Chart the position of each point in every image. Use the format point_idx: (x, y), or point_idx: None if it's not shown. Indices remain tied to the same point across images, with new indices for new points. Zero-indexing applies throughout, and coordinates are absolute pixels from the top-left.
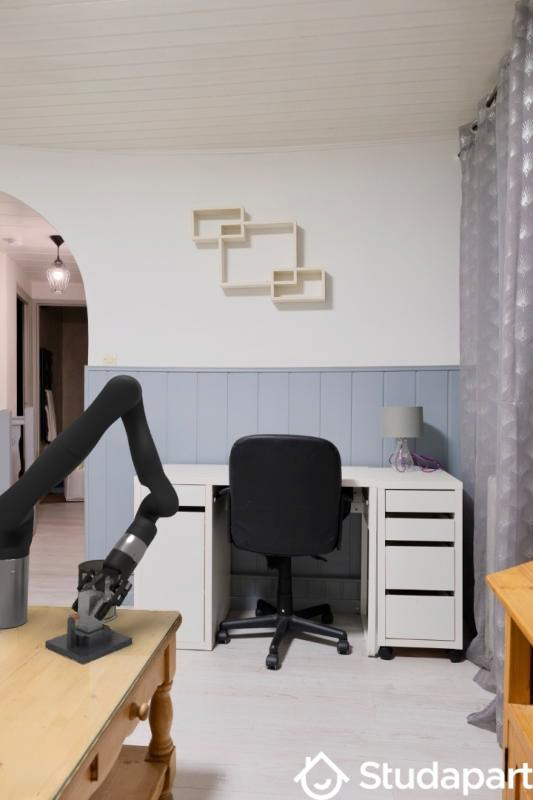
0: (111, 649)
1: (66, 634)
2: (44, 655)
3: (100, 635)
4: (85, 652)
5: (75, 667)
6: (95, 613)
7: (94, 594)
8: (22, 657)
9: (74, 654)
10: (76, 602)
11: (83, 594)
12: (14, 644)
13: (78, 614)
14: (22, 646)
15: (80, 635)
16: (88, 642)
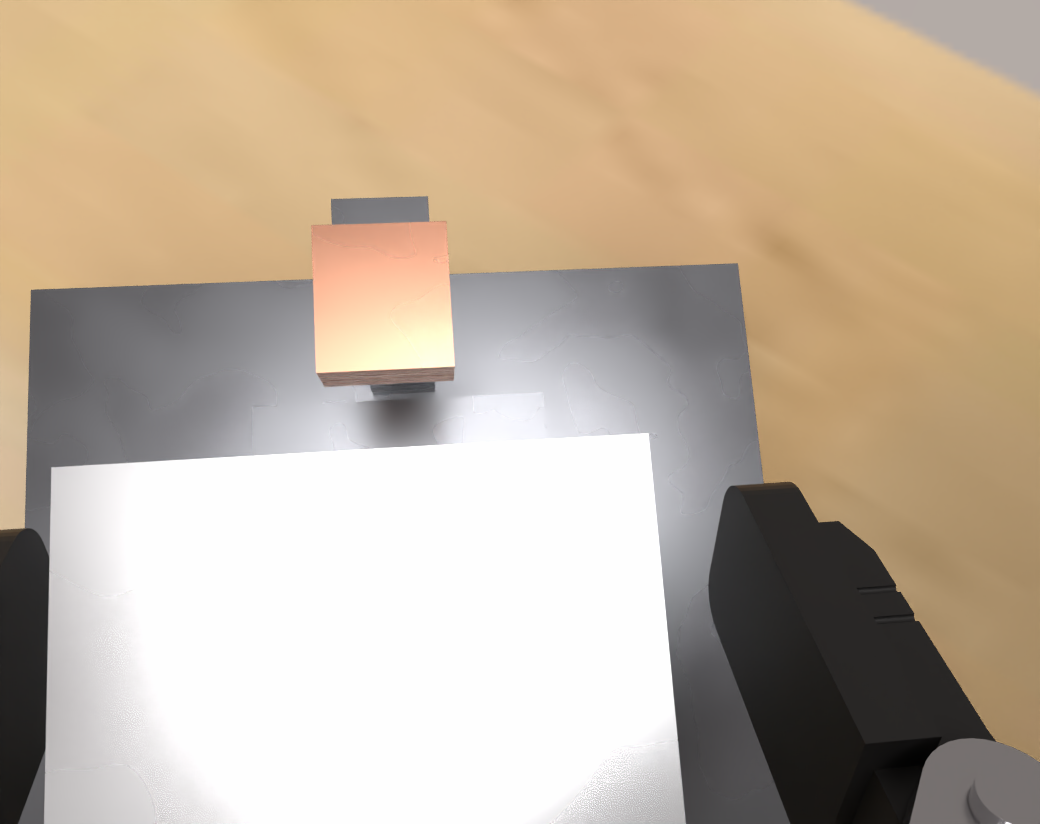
0: None
1: None
2: (551, 186)
3: None
4: (125, 383)
5: (70, 229)
6: (4, 554)
7: (94, 726)
8: (656, 38)
9: (198, 287)
10: (786, 564)
11: (392, 452)
12: (987, 139)
13: (357, 364)
14: (893, 162)
15: (297, 412)
16: None
